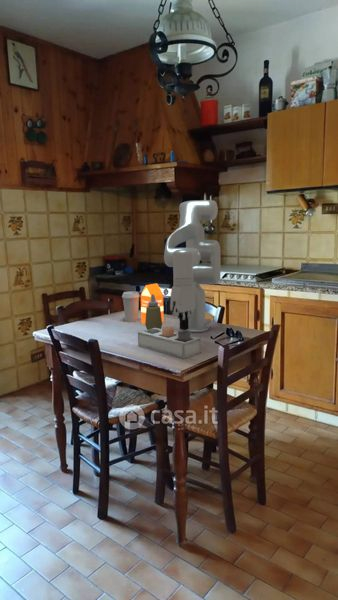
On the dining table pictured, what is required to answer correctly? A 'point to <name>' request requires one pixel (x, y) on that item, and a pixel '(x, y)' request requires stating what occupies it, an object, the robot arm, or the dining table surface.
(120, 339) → the dining table surface
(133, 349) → the dining table surface
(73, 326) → the dining table surface
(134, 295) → the coffee cup
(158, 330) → the knob
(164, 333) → the middle knob
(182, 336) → the knob
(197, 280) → the robot arm
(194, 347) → the grey rectangular box
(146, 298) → the orange juice
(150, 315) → the squeeze bottle
